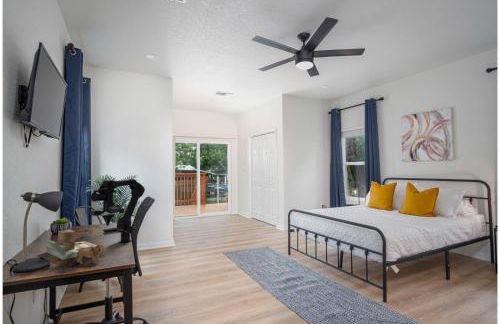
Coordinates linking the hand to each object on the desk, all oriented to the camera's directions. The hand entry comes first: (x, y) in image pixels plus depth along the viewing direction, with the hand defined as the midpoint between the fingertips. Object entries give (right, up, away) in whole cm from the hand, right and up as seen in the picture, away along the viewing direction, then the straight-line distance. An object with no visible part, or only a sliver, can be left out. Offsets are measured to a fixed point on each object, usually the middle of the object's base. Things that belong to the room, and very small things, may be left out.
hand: (107, 225), depth 180 cm
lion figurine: (+5, -12, -30) cm, 33 cm away
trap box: (-13, -13, -12) cm, 22 cm away
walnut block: (-16, -10, -15) cm, 24 cm away
